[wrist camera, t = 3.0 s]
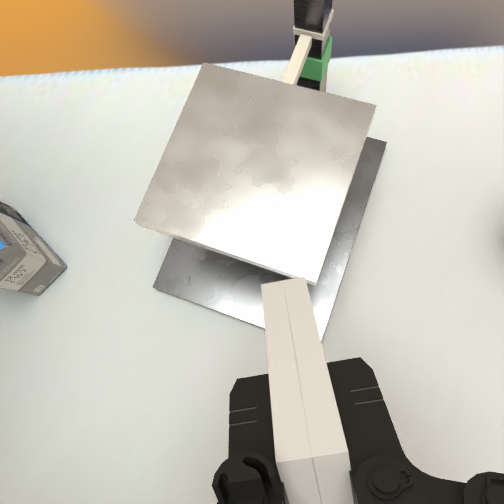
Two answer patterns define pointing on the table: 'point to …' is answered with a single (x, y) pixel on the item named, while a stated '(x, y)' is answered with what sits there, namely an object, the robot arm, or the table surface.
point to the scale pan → (258, 168)
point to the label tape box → (25, 255)
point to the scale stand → (251, 276)
